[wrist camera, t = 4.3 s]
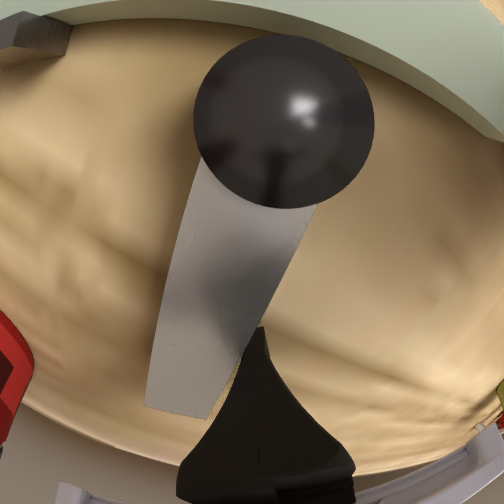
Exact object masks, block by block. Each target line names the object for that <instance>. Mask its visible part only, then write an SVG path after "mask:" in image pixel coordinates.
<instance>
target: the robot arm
mask: <svg viewBox="0 0 504 504" xmlns="http://www.w3.org/2000/svg"><path fill="white" fill-rule="evenodd" d="M355 470H356V467H355V464H354V462H353V460H352V458H351V456H350V455H349V454H348V452H347V451H346V449H345V448H344V447H343V445H342V444H341V443H340V442H339V441H338V440H336V439H335V438H334V437H333V436H332V435H330V434H329V433H328V432H327V431H326V430H325V429H324V428H323V427H322V426H321V425H319V424H318V423H317V422H316V421H315V420H314V418H313V417H312V416H311V415H310V414H309V413H308V412H307V411H306V410H305V409H304V408H303V407H302V405H301V404H300V403H299V402H298V401H297V399H296V398H295V397H294V395H293V394H292V393H291V392H290V390H289V389H288V387H287V386H286V385H285V383H284V382H283V380H282V378H281V377H280V375H279V374H278V372H277V370H276V369H275V367H274V365H273V363H272V361H271V359H270V355H269V350H268V345H267V341H266V336H265V331H264V327H258V328H256V330H255V332H254V333H253V335H252V337H251V339H250V341H249V343H248V345H247V347H246V348H245V350H244V352H243V356H242V359H241V362H240V365H239V369H238V372H237V374H236V377H235V379H234V382H233V384H232V387H231V389H230V391H229V394H228V396H227V398H226V400H225V402H224V404H223V406H222V408H221V409H220V411H219V413H218V415H217V416H216V418H215V420H214V421H213V423H212V424H211V426H210V427H209V429H208V430H207V432H206V433H205V434H204V436H203V437H202V439H201V440H200V441H199V443H198V444H197V445H196V446H195V448H194V449H193V450H192V451H191V452H190V453H189V455H188V456H187V457H186V458H185V459H184V460H183V461H182V462H181V464H180V468H179V471H178V476H177V481H176V496H177V497H178V498H180V499H182V500H184V501H187V502H189V503H192V504H371V503H374V502H376V501H378V502H377V503H376V504H461V503H463V502H464V501H466V500H467V499H469V498H470V497H471V496H473V495H474V494H476V493H477V492H478V491H480V490H481V489H482V488H483V487H485V486H486V485H488V484H489V483H490V482H491V481H493V480H494V479H495V478H496V477H498V476H499V475H500V474H501V473H503V472H504V440H503V438H502V436H501V434H500V432H499V430H498V428H497V426H496V424H495V423H492V424H491V425H490V426H488V427H487V428H485V429H484V430H482V431H481V432H479V433H478V434H477V435H475V436H474V437H472V438H471V439H470V440H469V441H468V442H467V443H466V444H465V445H463V446H462V447H460V448H458V449H457V450H455V451H453V452H452V453H450V454H448V455H446V456H444V457H443V458H441V459H439V460H437V461H435V462H433V463H431V464H429V465H427V466H425V467H423V468H421V469H419V470H416V471H414V472H412V473H410V474H407V475H405V476H403V477H400V478H398V479H395V480H393V481H390V482H387V483H385V484H382V485H379V486H376V487H373V488H371V489H367V490H365V491H361V492H358V493H354V489H353V485H354V483H353V479H352V475H353V473H354V471H355ZM379 500H380V501H379ZM55 504H131V503H126V502H121V501H117V500H113V499H109V498H105V497H102V496H98V495H95V494H91V493H89V492H88V491H86V490H84V489H81V488H79V487H76V486H73V485H71V484H67V483H65V482H62V481H60V482H59V487H58V492H57V497H56V503H55Z"/></svg>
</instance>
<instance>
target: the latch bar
mask: <svg viewBox="0 0 504 504" xmlns="http://www.w3.org/2000/svg"><path fill="white" fill-rule="evenodd" d="M194 132H195V138H196V142H197V145H198V149H199V151H200V153H201V159H200V162H199V165H198V168H197V171H196V174H195V178H194V181H193V184H192V187H191V190H190V194H189V197H188V200H187V204H186V207H185V211H184V214H183V218H182V221H181V225H180V229H179V232H178V236H177V240H176V243H175V247H174V251H173V255H172V259H171V263H170V267H169V271H168V276H167V280H166V284H165V289H164V293H163V298H162V302H161V307H160V312H159V317H158V321H157V327H156V332H155V337H154V342H153V348H152V354H151V360H150V366H149V372H148V378H147V385H146V392H145V399H144V406H145V407H149V408H153V409H157V410H161V411H165V412H170V413H174V414H179V415H184V416H189V417H194V418H200V419H205V420H206V418H207V416H208V415H209V413H210V411H211V410H212V408H213V406H214V404H215V403H216V401H217V399H218V397H219V396H220V394H221V392H222V390H223V388H224V387H225V385H226V383H227V381H228V379H229V378H230V376H231V374H232V372H233V370H234V369H235V367H236V365H237V363H238V361H239V359H240V358H241V356H242V354H243V352H244V350H245V348H246V347H247V345H248V343H249V341H250V339H251V337H252V335H253V333H254V332H255V330H256V328H257V326H258V324H259V322H260V320H261V318H262V316H263V314H264V312H265V310H266V309H267V307H268V305H269V303H270V301H271V299H272V297H273V295H274V293H275V291H276V289H277V287H278V285H279V283H280V281H281V279H282V277H283V275H284V273H285V271H286V269H287V267H288V265H289V263H290V261H291V259H292V257H293V255H294V253H295V251H296V249H297V247H298V244H299V242H300V240H301V238H302V236H303V234H304V232H305V230H306V228H307V226H308V224H309V221H310V219H311V217H312V215H313V213H314V211H315V209H316V206H317V204H318V203H320V202H323V201H325V200H327V199H329V198H331V197H333V196H334V195H336V194H337V193H339V192H340V191H341V190H343V189H344V188H345V187H346V186H347V185H348V184H349V183H350V182H351V181H352V180H353V179H354V178H355V177H356V176H357V174H358V173H359V171H360V170H361V168H362V167H363V165H364V163H365V161H366V159H367V157H368V155H369V152H370V149H371V146H372V141H373V137H374V112H373V106H372V102H371V99H370V95H369V93H368V90H367V88H366V86H365V84H364V82H363V80H362V79H361V77H360V76H359V74H358V73H357V71H356V70H355V69H354V68H353V67H352V65H351V64H350V63H349V62H348V61H347V60H346V59H344V58H343V57H342V56H341V55H340V54H338V53H337V52H336V51H334V50H333V49H331V48H329V47H327V46H326V45H324V44H322V43H319V42H317V41H314V40H312V39H308V38H304V37H300V36H294V35H270V36H263V37H259V38H256V39H252V40H249V41H247V42H245V43H242V44H240V45H238V46H237V47H235V48H233V49H232V50H230V51H229V52H227V53H226V54H225V55H224V56H223V57H221V58H220V59H219V60H218V61H217V62H216V63H215V64H214V66H213V67H212V68H211V69H210V71H209V72H208V74H207V75H206V77H205V78H204V80H203V82H202V84H201V86H200V88H199V91H198V94H197V98H196V101H195V107H194Z"/></svg>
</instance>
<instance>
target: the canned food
mask: <svg viewBox="0 0 504 504" xmlns="http://www.w3.org/2000/svg"><path fill="white" fill-rule="evenodd" d="M33 368H34V359H33V356H32V353H31V351H30V349H29V347H28V345H27V343H26V341H25V340H24V338H23V337H22V335H21V334H20V332H19V331H18V330H17V328H16V327H15V326H14V325H13V323H12V322H11V321H10V320H9V319H8V318H7V317H6V316H5V315H4V313H3V312H1V311H0V458H1V455H2V451H3V448H4V445H5V442H6V439H7V436H8V433H9V431H10V427H11V425H12V423H13V420H14V417H15V415H16V412H17V410H18V407H19V405H20V403H21V400H22V398H23V396H24V393H25V391H26V389H27V387H28V385H29V383H30V380H31V378H32V374H33Z"/></svg>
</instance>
